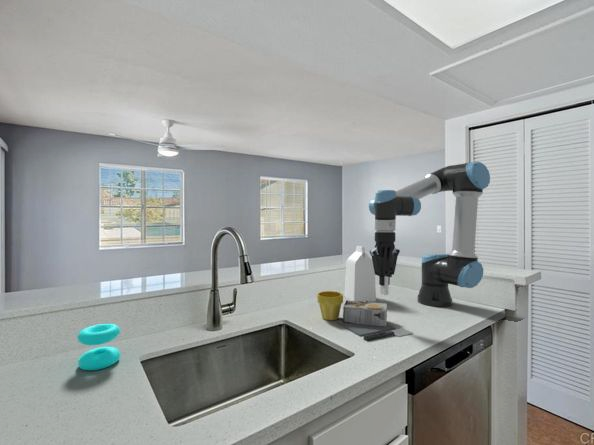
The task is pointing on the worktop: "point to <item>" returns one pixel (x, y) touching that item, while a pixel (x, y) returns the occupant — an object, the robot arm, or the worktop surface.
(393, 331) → the turner
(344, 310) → the coffee box
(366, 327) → the mat
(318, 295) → the plant pot
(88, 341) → the donuts
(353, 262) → the milk
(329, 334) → the worktop surface
